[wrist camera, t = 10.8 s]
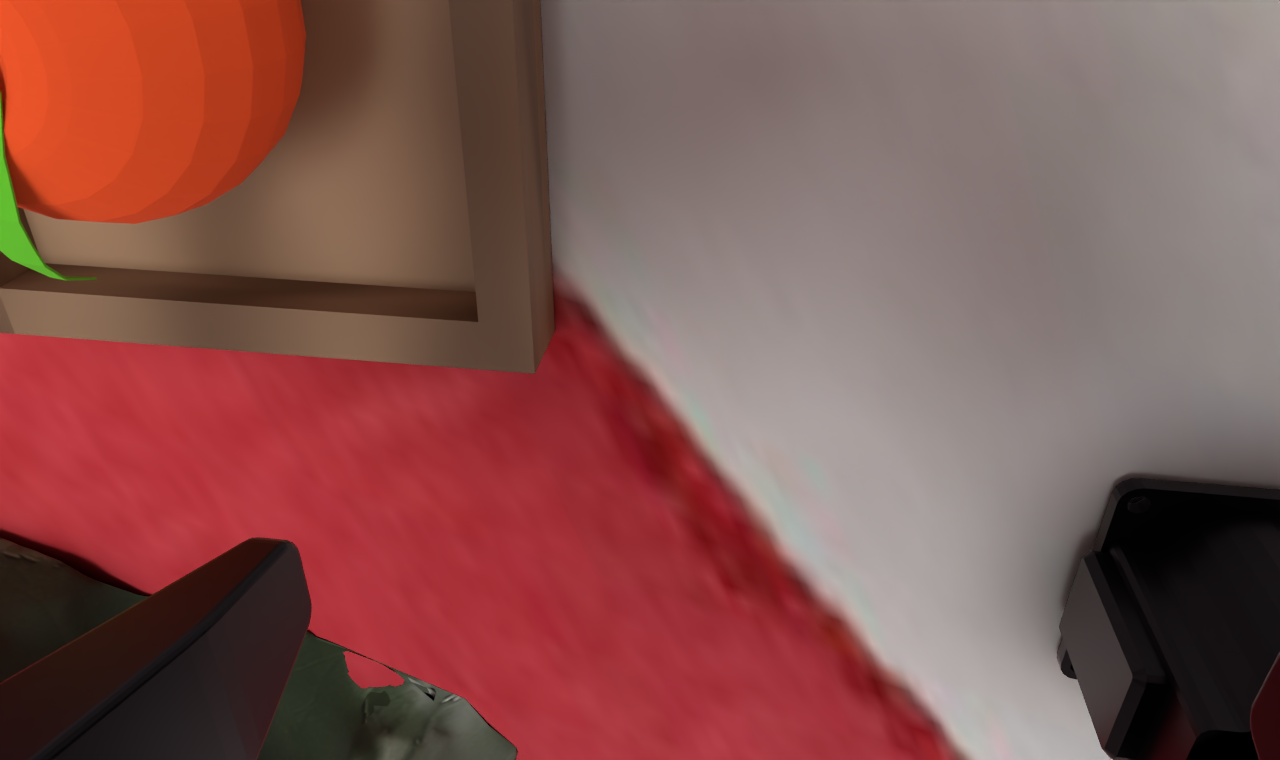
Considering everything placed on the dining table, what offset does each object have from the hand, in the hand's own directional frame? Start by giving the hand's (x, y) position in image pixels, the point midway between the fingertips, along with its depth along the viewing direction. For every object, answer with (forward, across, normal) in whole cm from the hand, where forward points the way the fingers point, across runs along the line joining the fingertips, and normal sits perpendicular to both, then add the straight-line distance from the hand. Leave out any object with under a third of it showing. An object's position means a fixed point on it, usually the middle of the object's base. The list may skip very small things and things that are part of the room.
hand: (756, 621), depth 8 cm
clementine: (+13, +12, -3) cm, 18 cm away
